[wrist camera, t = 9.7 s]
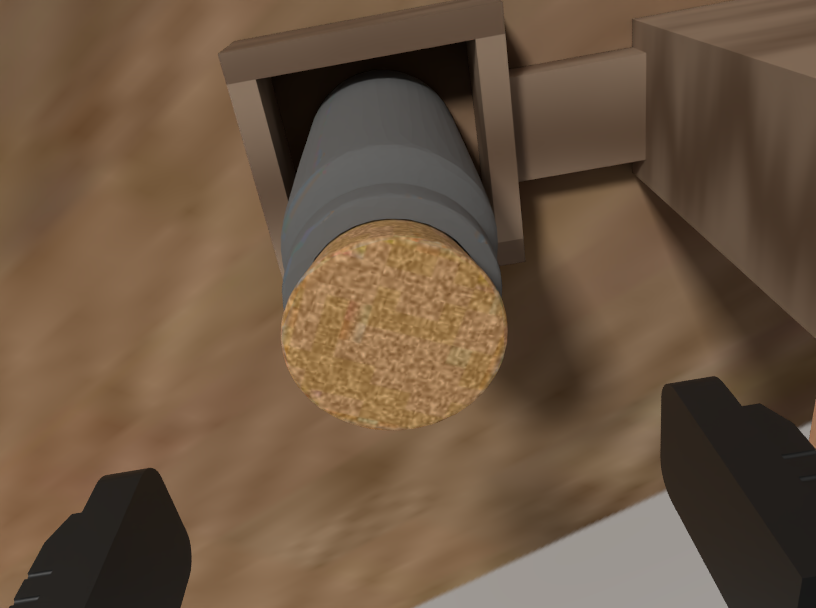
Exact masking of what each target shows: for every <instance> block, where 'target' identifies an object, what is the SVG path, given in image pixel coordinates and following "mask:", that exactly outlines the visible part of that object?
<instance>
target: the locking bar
mask: <svg viewBox="0 0 816 608" xmlns="http://www.w3.org/2000/svg"><path fill="white" fill-rule="evenodd" d="M809 442H810V443H811V444H812V445H813V446H814V447H815V449H816V401H815V407H814V413H813V419H812V425H811V431H810V437H809Z"/></svg>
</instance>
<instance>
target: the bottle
mask: <svg viewBox="0 0 816 608" xmlns="http://www.w3.org/2000/svg"><path fill="white" fill-rule="evenodd" d="M497 251H498V237H497V226H496V221H495V217H494V213H493V210H492V208H491V205H490V202H489V199H488V197H487V194H486V192H485V190H484V187H483V185H482V182H481V180H480V177H479V175H478V173H477V171H476V169H475V166H474V164H473V162H472V160H471V158H470V155H469V153H468V151H467V149H466V146H465V144H464V142H463V140H462V138H461V135H460V133H459V131H458V129H457V127H456V124H455V122H454V120H453V118H452V116H451V114H450V112H449V110H448V109H447V107H446V105H445V103H444V102H443V101H442V100H441V98H440V97H439V96H438V95H437V93H436V92H435V91H434V90H433V89H431V88H430V87H429V86H428V85H426V84H425V83H424V82H422V81H421V80H419V79H417V78H415V77H413V76H410V75H408V74H405V73H402V72H398V71H390V70H373V71H369V72H365V73H361V74H357V75H355V76H353V77H351V78H349V79H347V80H345V81H344V82H342V83H341V84H339V85H338V86H337V87H336V88H335V89H334V90H333V91H332V92H331V93H330V94H328V96H327V97H326V99H325V100H324V101H323V103H322V104H321V106H320V108H319V110H318V112H317V114H316V116H315V118H314V121H313V124H312V127H311V130H310V133H309V136H308V139H307V142H306V145H305V148H304V151H303V154H302V157H301V160H300V163H299V167H298V170H297V173H296V177H295V180H294V184H293V187H292V190H291V194H290V197H289V201H288V204H287V207H286V211H285V215H284V219H283V225H282V231H281V255H282V263H283V267H284V276H283V286H282V295H283V307H284V314H283V317H282V324H281V343H282V350H283V356H284V359H285V362H286V365H287V368H288V370H289V372H290V374H291V376H292V377H293V379H294V380H295V382H296V384H297V385H298V387H299V388H300V389H301V390H302V391H303V393H304V394H305V395H306V396H307V397H308V398H309V399H310V400H311V401H312V402H313V403H314V404H316V405H317V406H318V407H319V408H321V409H322V410H324V411H326V412H327V413H329V414H331V415H332V416H334V417H336V418H338V419H341V420H343V421H346V422H348V423H351V424H354V425H357V426H360V427H365V428H370V429H378V430H406V429H414V428H419V427H423V426H427V425H431V424H434V423H437V422H440V421H442V420H444V419H446V418H448V417H450V416H452V415H455V414H457V413H458V412H460V411H461V410H462V409H464V408H465V407H467V406H468V405H470V404H471V403H472V402H473V401H474V400H475V399H476V398H478V397H479V396H480V395H481V394H482V393H483V391H484V390H485V389H486V388H487V387H488V385H489V384H490V383H491V381H492V380H493V378H494V377H495V375H496V374H497V372H498V370H499V368H500V366H501V363H502V361H503V358H504V354H505V350H506V346H507V332H508V323H507V315H506V311H505V307H504V304H503V301H502V280H501V273H500V268H499V264H498V261H497Z"/></svg>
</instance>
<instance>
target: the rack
mask: <svg viewBox="0 0 816 608" xmlns="http://www.w3.org/2000/svg"><path fill="white" fill-rule="evenodd" d="M463 41H466V45H467V54H468V62H469V71H470V80H471V88H472V97H473V106H474V114H475V123H476V131H477V140H478V149H479V157H480V166H481V175H482V183H483V187H484V190H485V192H486V194H487V197H488V199H489V202H490V205H491V208H492V210H493V213H494V217H495V221H496V226H497V237H498V251H497V261H498V264H499V266H502V265H508V264H514V263H520V262H525V251H524V240H523V228H522V217H521V206H520V194H519V183H518V182H521V181H527V180H532V179H538V178H544V177H549V176H555V175H561V174H567V173H572V172H578V171H584V170H590V169H595V168H601V167H607V166H612V165H618V164H624V163H630V162H632V172H633V173H634V174H635V175H636V176H637V177H638V178H639V179H640V180H641V181H643V182H644V183H645V184H646V185H647V186H648V187H649V188H650V189H651V190H652V191H654V192H655V193H656V194H657V195H658V196H659V197H660V198H661V199H662V200H663V201H665V202H666V203H667V204H668V205H669V206H670V207H671V208H672V209H673V210H674V211H676V212H677V213H678V214H679V215H680V216H681V217H682V218H683V219H684V220H685V221H687V222H688V223H689V224H690V225H691V226H692V227H693V228H694V229H695V230H696V231H698V232H699V233H700V234H701V235H702V236H703V237H704V238H705V239H706V240H707V241H709V242H710V243H711V244H712V245H713V246H714V247H715V248H716V249H717V250H719V251H720V252H721V253H722V254H723V255H724V256H725V257H726V258H727V259H728V260H730V261H731V262H732V263H733V264H734V265H735V266H736V267H737V268H738V269H739V270H741V271H742V272H743V273H744V274H745V275H746V276H747V277H748V278H749V279H750V280H752V281H753V282H754V283H755V284H756V285H757V286H758V287H759V288H760V289H761V290H763V291H764V292H765V293H766V294H767V295H768V296H769V297H770V298H771V299H772V300H774V301H775V302H776V303H777V304H778V305H779V306H780V307H781V308H782V309H783V310H785V311H786V312H787V313H788V314H789V315H790V316H791V317H792V318H793V319H794V320H796V321H797V322H798V323H799V324H800V325H801V326H802V327H803V328H804V329H805V330H807V331H808V332H809V333H810V334H811V335H812V336H813V337H814V338H815V339H816V0H734V1H729V2H723V3H718V4H712V5H707V6H701V7H696V8H690V9H685V10H679V11H674V12H668V13H663V14H657V15H652V16H646V17H641V18H635V19H632V47H630V48H624V49H619V50H613V51H608V52H602V53H597V54H591V55H585V56H580V57H574V58H569V59H563V60H558V61H552V62H547V63H541V64H536V65H530V66H525V67H519V68H514V69H508V59H507V47H506V36H505V25H504V13H503V2H502V1H501V0H454V1H449V2H443V3H438V4H433V5H427V6H422V7H416V8H411V9H406V10H400V11H395V12H390V13H384V14H379V15H373V16H368V17H363V18H357V19H352V20H346V21H341V22H336V23H330V24H325V25H319V26H314V27H309V28H303V29H298V30H292V31H287V32H282V33H276V34H271V35H265V36H260V37H255V38H249V39H244V40H238V41H234V42H232V43H231V44H230V45H229V46H227V47H226V48H225V49H223V50H222V51H221V52H220V53H218V57H219V60H220V64H221V67H222V70H223V74H224V77H225V81H226V84H227V88H228V91H229V95H230V98H231V102H232V105H233V109H234V112H235V115H236V119H237V122H238V126H239V129H240V133H241V136H242V140H243V143H244V147H245V150H246V154H247V157H248V160H249V164H250V167H251V171H252V174H253V178H254V181H255V185H256V188H257V192H258V195H259V199H260V202H261V205H262V209H263V212H264V216H265V219H266V223H267V226H268V230H269V233H270V237H271V240H272V244H273V247H274V250H275V254H276V257H277V261H278V264H279V268H280V271H281V275H282V278H283V276H284V267H283V263H282V255H281V231H282V225H283V219H284V215H285V211H286V207H287V204H288V201H289V197H290V194H291V190H292V187H293V184H294V180H295V177H296V173H295V170H294V166H293V162H292V158H291V154H290V150H289V146H288V142H287V138H286V134H285V131H284V127H283V123H282V119H281V115H280V111H279V107H278V103H277V99H276V95H275V92H274V88H273V84H272V80H271V77H272V76H277V75H283V74H288V73H294V72H299V71H305V70H310V69H316V68H321V67H327V66H332V65H337V64H343V63H348V62H354V61H359V60H365V59H370V58H376V57H381V56H387V55H392V54H398V53H403V52H409V51H414V50H419V49H425V48H430V47H436V46H441V45H447V44H452V43H458V42H463Z"/></svg>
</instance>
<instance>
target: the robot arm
mask: <svg viewBox="0 0 816 608" xmlns="http://www.w3.org/2000/svg"><path fill="white" fill-rule="evenodd" d="M661 469H662V475H663V479H664V483H665V486H666V489H667V492H668V494H669V497H670V499H671V501H672V503H673V505H674V507H675V509H676V511H677V512H678V514H679V516H680V518H681V520H682V522H683V523H684V525H685V527H686V529H687V531H688V533H689V535H690V536H691V539H692V540H693V542H694V544H695V546H696V548H697V549H698V552H699V553H700V555H701V557H702V559H703V561H704V563H705V565H706V566H707V568H708V570H709V572H710V574H711V576H712V578H713V579H714V581H715V583H716V585H717V587H718V589H719V590H720V593H721V594H722V596H723V598H724V600H725V602H726V604H727V606H728V607H729V608H816V449H815V447H814V446H813V445H812V444H811V443H810V442H809V441H808V440H807V438H806V437H805V436H804V435H803V434H802V433H801V432H800V430H799V429H798V428H797V427H796V426H795V425H794V424H793V423H792V422H790V421H789V420H787V419H785V418H784V417H782V416H780V415H778V414H777V413H775V412H773V411H772V410H770V409H768V408H767V407H765V406H763V405H762V404H754V405H748V406H741V404H740V403H739V402H738V401H737V399H736V398H735V397H734V396H733V394H732V393H731V392H730V391H729V389H728V388H727V387H726V386H725V384H724V383H723V382H722V381H721V380H720V379H719V378H718V377H715V376H712V377H706V378H700V379H694V380H688V381H682V382H676V383H670V384H666V385H664V387H663V389H662V396H661ZM191 557H192V556H191V545H190V540H189V537H188V534H187V532H186V529H185V527H184V525H183V523H182V521H181V519H180V516H179V514H178V512H177V510H176V508H175V506H174V503H173V501H172V499H171V497H170V495H169V493H168V490H167V488H166V486H165V484H164V482H163V480H162V478H161V476H160V474H159V473H158V471H156V470H155V469H153V468H146V469H140V470H134V471H128V472H122V473H116V474H110V475H105V476H103V477H102V478H100V480H99V481H98V482H97V484H96V486H95V488H94V490H93V492H92V494H91V496H90V498H89V500H88V502H87V504H86V506H85V507H84V509H83V511H82V513H76V514H72V515H71V516H70V517H69V518H68V519H67V520H66V521H65V522H64V523H63V524H62V525H61V526H60V527H59V528H58V529H57V530H56V531H55V532H54V533H53V534H52V535H51V536H50V538H49V539H48V540H47V541H46V542H45V543H44V545H43V546H42V548H41V550H40V552H39V554H38V556H37V557H36V559H35V561H34V563H33V565H32V567H31V569H30V570H29V572H28V579H25V580H24V581H23V583H22V585H21V587H20V589H19V591H18V592H17V594H16V596H15V598H14V605H13V606H10V607H9V608H180V607H181V604H182V600H183V597H184V593H185V590H186V586H187V583H188V579H189V576H190V571H191Z"/></svg>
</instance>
